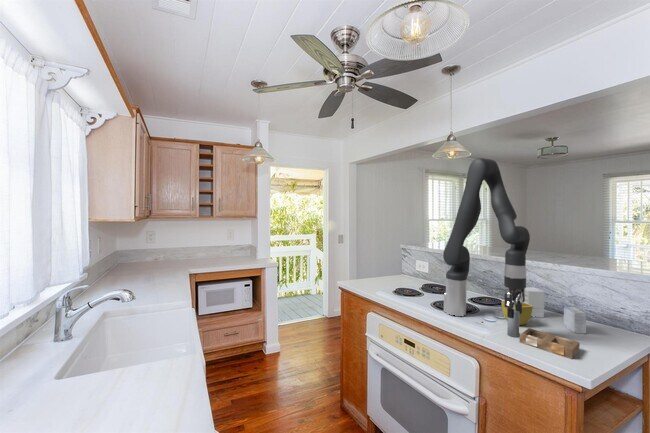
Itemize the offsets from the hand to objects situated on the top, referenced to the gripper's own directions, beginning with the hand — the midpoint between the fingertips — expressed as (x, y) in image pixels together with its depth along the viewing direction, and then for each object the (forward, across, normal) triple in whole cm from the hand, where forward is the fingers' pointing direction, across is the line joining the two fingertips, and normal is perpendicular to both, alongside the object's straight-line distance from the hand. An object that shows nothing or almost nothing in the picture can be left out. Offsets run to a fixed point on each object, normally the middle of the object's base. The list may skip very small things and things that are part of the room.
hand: (514, 315), depth 122 cm
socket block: (+8, 0, +11) cm, 14 cm away
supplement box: (+8, -33, -4) cm, 34 cm away
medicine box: (+9, -27, +14) cm, 31 cm away
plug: (+8, 0, 0) cm, 8 cm away
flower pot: (+8, -15, -4) cm, 18 cm away
